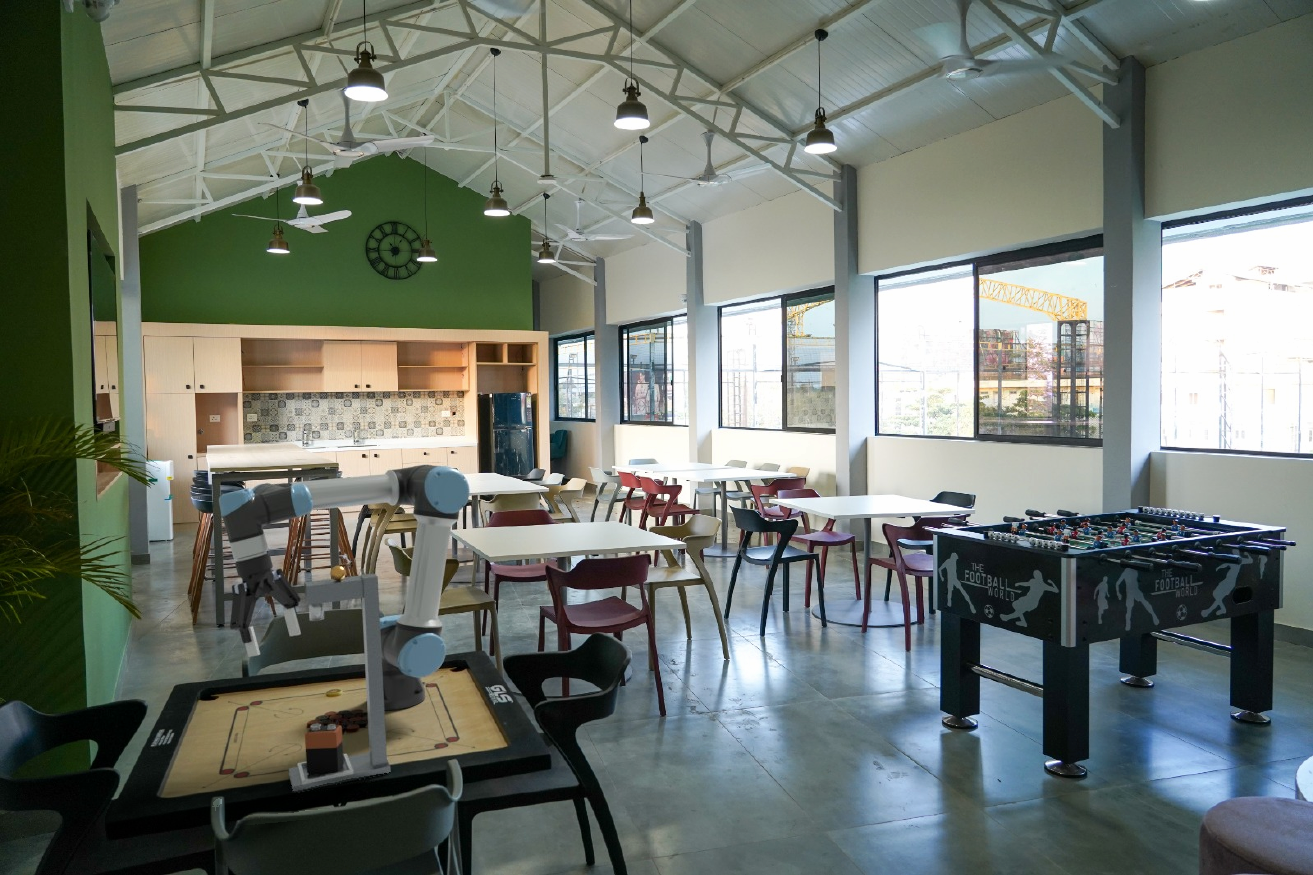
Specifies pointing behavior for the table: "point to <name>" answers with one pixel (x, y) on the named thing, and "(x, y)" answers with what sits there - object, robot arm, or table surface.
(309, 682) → the table surface
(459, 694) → the table surface
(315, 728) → the battery
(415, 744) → the table surface
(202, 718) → the table surface
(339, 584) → the arbor press
